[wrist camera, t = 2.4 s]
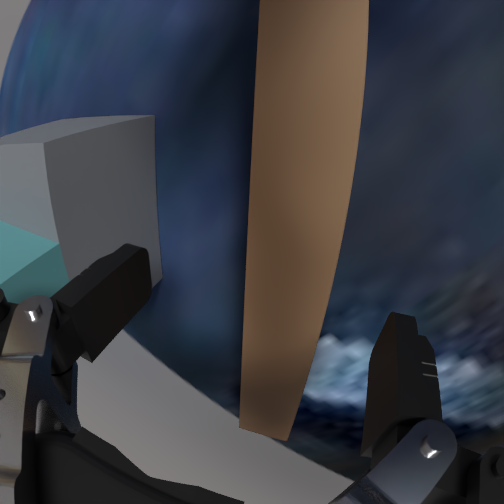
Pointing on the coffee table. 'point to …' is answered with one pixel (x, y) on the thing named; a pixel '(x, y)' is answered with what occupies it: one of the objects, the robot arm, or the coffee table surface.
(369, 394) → the robot arm
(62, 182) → the balance stand
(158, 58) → the coffee table surface
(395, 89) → the coffee table surface
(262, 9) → the walnut beam
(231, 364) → the coffee table surface
